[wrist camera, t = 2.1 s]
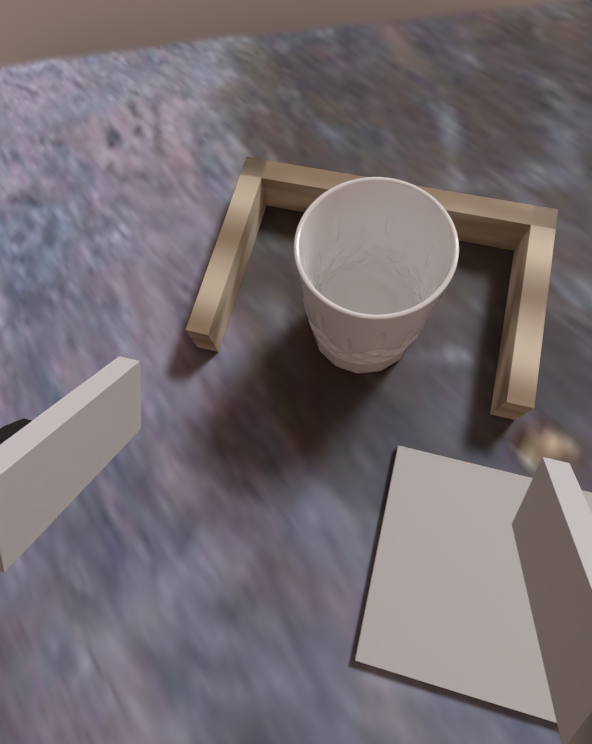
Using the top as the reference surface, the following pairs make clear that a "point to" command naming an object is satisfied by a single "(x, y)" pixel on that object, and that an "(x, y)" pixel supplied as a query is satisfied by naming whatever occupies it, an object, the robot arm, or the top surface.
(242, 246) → the frame
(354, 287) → the white cup
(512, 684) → the mat
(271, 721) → the top surface
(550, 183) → the top surface
